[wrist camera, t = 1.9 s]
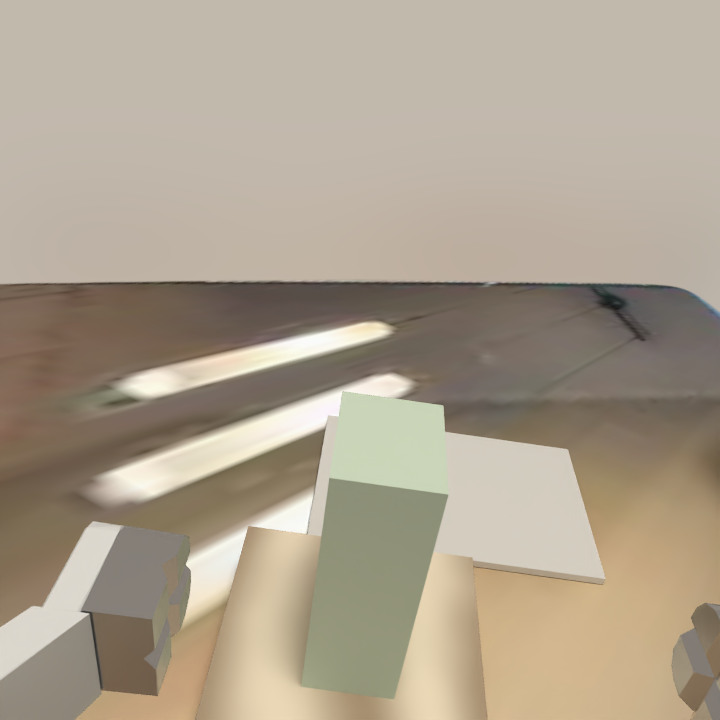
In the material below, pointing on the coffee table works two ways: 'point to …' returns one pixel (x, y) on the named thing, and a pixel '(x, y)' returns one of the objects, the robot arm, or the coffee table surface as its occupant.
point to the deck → (290, 633)
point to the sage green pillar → (375, 542)
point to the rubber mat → (502, 507)
